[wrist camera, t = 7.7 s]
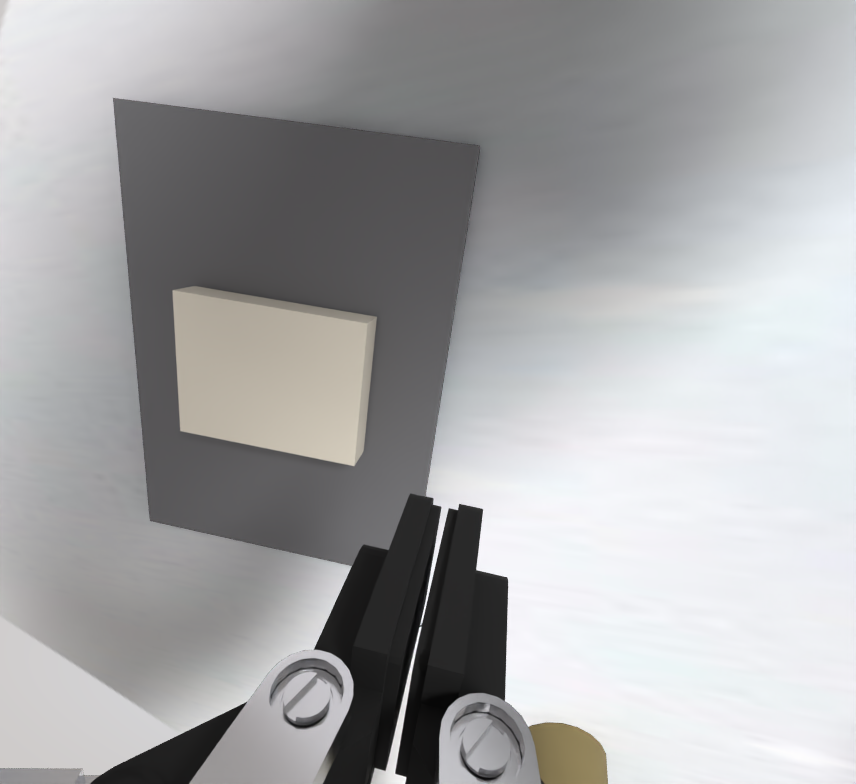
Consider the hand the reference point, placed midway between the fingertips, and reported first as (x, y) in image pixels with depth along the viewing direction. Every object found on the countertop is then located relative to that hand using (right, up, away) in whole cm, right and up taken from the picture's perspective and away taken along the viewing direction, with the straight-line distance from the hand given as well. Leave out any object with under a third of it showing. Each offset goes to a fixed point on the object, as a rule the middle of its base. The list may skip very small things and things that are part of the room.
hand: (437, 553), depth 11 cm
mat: (-7, +5, +13) cm, 16 cm away
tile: (-3, +4, +11) cm, 12 cm away
